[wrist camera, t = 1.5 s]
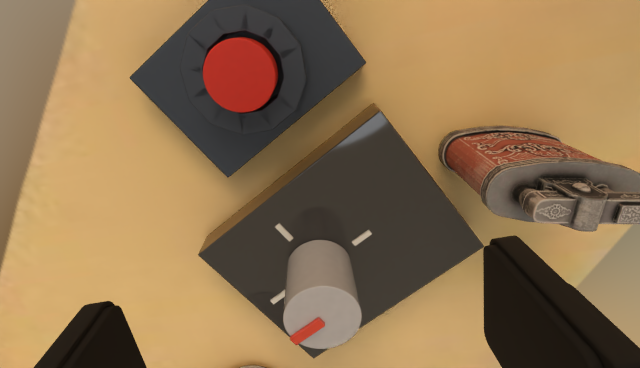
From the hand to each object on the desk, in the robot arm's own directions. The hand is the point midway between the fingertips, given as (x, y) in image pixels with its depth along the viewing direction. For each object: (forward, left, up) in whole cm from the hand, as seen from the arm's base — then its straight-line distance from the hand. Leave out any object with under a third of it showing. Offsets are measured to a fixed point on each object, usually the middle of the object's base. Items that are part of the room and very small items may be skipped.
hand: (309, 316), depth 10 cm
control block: (0, -6, -17) cm, 18 cm away
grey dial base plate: (+3, +7, -17) cm, 18 cm away
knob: (+5, +7, -14) cm, 17 cm away
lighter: (-10, +9, -17) cm, 21 cm away
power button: (0, -6, -14) cm, 15 cm away
